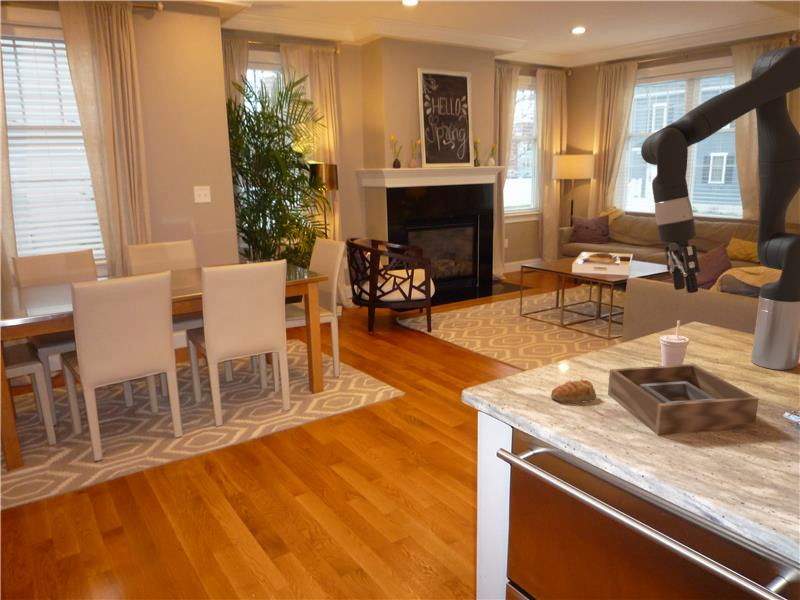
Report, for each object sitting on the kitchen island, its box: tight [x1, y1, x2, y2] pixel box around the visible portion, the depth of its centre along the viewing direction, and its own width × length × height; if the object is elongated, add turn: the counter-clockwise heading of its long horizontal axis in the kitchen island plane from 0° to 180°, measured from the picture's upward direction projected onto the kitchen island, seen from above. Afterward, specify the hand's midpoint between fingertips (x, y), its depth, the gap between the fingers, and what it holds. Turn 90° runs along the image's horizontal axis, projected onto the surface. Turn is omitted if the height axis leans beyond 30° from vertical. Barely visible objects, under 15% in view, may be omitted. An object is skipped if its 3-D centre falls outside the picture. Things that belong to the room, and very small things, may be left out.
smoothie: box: [659, 320, 690, 366], centre depth 138 cm, size 6×6×14 cm
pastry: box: [550, 379, 597, 403], centre depth 128 cm, size 9×7×4 cm
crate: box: [607, 363, 759, 436], centre depth 120 cm, size 20×20×6 cm
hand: (686, 290), depth 131 cm, fingers open, 8 cm apart
